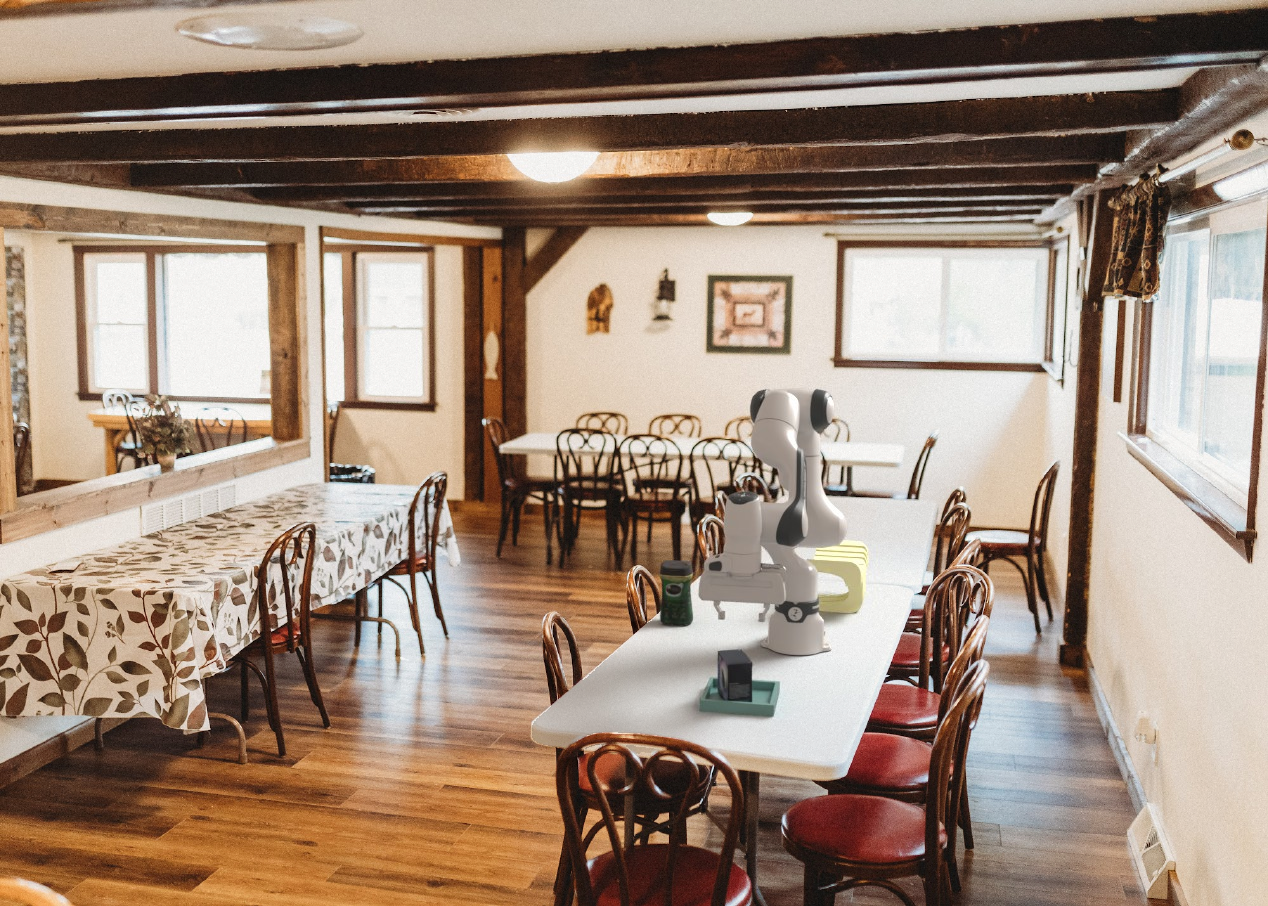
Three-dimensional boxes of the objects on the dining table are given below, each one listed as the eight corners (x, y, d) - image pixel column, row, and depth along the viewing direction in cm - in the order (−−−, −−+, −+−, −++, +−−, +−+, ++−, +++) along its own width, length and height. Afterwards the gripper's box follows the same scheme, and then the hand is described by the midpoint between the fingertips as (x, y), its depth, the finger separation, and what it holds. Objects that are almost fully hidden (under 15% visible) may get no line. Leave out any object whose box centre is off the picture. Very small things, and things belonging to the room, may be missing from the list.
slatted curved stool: (859, 621, 344) (861, 562, 342) (805, 617, 348) (806, 559, 346) (867, 596, 373) (868, 541, 370) (816, 593, 377) (818, 538, 374)
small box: (715, 691, 281) (716, 649, 279) (741, 690, 282) (742, 648, 280) (725, 707, 270) (726, 663, 269) (753, 705, 271) (754, 661, 270)
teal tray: (709, 687, 286) (709, 676, 285) (779, 691, 282) (779, 681, 282) (699, 711, 269) (699, 700, 269) (773, 716, 266) (773, 705, 266)
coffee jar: (695, 620, 345) (695, 558, 342) (689, 627, 337) (690, 564, 335) (663, 618, 347) (663, 557, 345) (657, 625, 340) (657, 562, 337)
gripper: (788, 561, 272) (787, 618, 274) (701, 557, 276) (701, 614, 278) (786, 567, 266) (785, 626, 268) (697, 563, 270) (697, 621, 272)
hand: (741, 620), depth 273 cm, fingers open, 8 cm apart
